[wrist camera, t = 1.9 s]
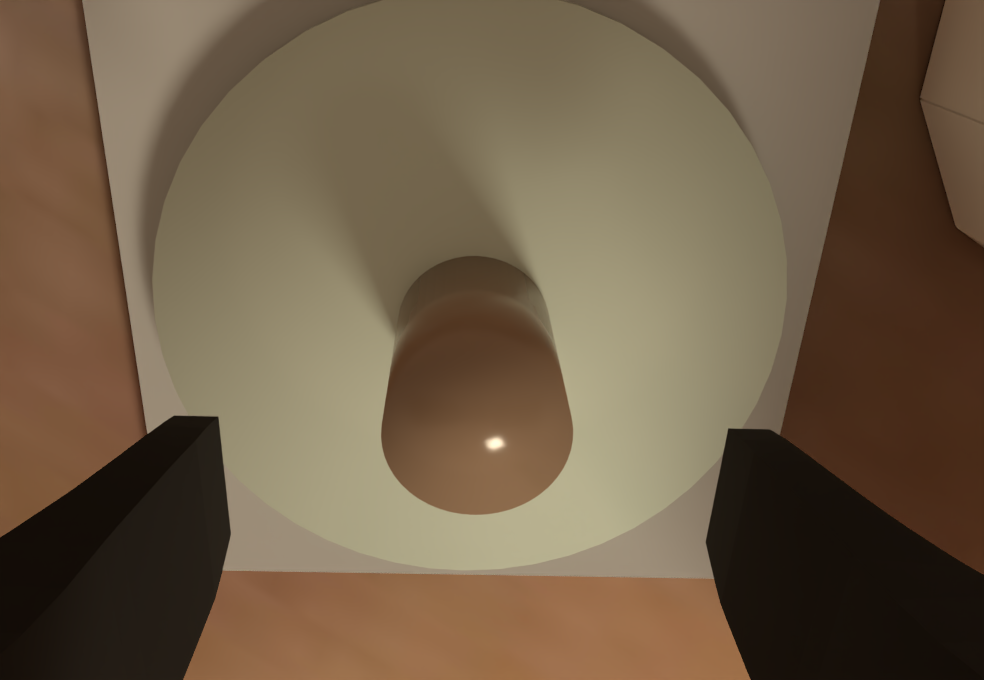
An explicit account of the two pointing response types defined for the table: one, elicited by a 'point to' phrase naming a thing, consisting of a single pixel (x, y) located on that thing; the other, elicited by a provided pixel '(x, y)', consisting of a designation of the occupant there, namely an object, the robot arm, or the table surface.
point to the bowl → (959, 111)
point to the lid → (470, 280)
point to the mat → (635, 3)
